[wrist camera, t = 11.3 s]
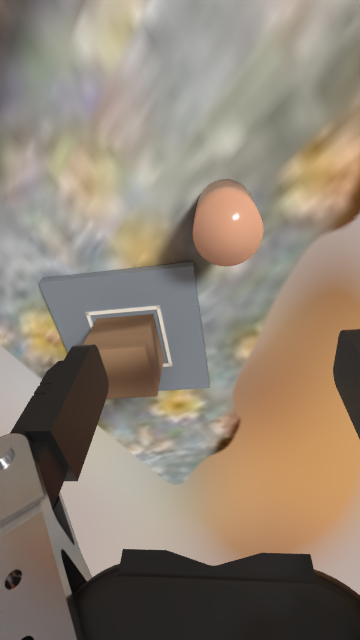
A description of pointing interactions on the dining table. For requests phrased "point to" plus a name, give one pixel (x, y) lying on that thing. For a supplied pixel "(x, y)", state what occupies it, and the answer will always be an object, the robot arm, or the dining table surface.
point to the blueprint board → (137, 313)
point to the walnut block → (129, 354)
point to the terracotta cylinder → (226, 224)
